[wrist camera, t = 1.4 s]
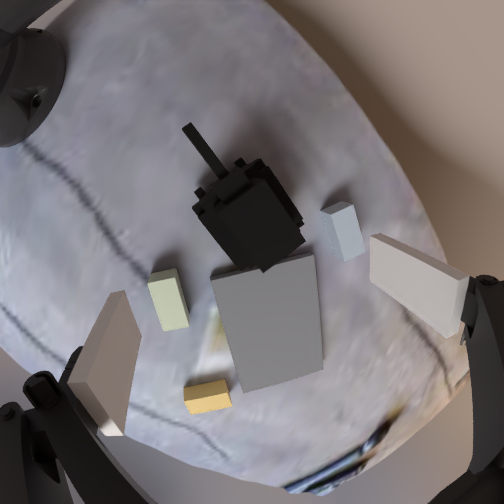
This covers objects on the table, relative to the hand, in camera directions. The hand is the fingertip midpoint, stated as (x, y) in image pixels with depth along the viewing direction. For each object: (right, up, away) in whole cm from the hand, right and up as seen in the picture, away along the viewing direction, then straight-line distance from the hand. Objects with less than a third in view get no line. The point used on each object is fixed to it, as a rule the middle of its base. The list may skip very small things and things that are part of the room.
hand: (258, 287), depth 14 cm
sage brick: (-10, -3, +18) cm, 20 cm away
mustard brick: (-7, -18, +23) cm, 30 cm away
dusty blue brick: (+10, +5, +20) cm, 22 cm away
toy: (-3, +8, +16) cm, 18 cm away
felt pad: (+2, -8, +22) cm, 23 cm away
